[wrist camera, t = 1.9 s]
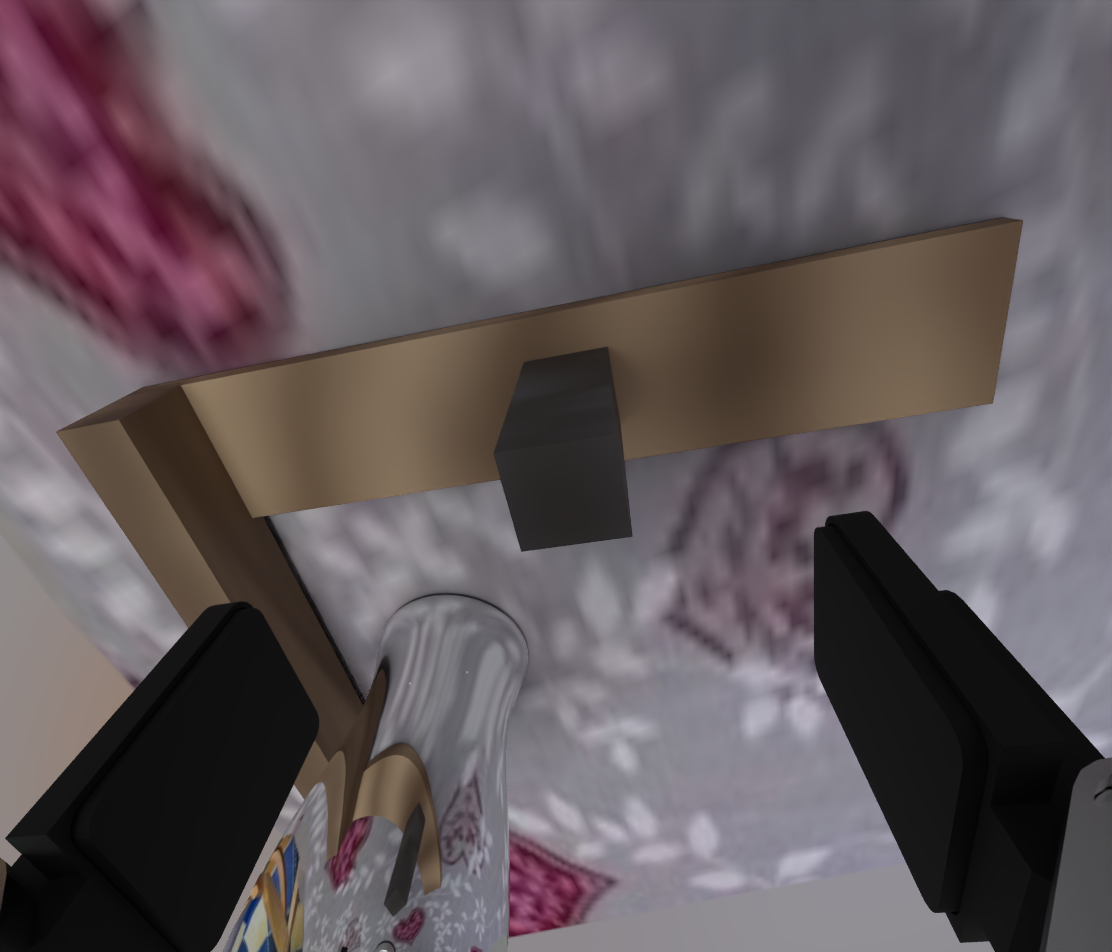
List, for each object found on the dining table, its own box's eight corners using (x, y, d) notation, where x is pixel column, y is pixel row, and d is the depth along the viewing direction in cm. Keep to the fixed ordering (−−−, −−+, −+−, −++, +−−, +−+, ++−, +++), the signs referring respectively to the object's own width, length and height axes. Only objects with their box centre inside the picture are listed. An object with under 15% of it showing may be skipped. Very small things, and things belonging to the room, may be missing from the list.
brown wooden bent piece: (1003, 217, 15) (1266, 256, 9) (934, 679, 23) (1050, 857, 17) (142, 387, 19) (-63, 492, 13) (341, 734, 27) (271, 895, 21)
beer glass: (560, 692, 25) (524, 1285, 12) (414, 716, 26) (236, 1274, 13) (506, 567, 22) (377, 1188, 9) (343, 603, 23) (19, 1186, 10)
